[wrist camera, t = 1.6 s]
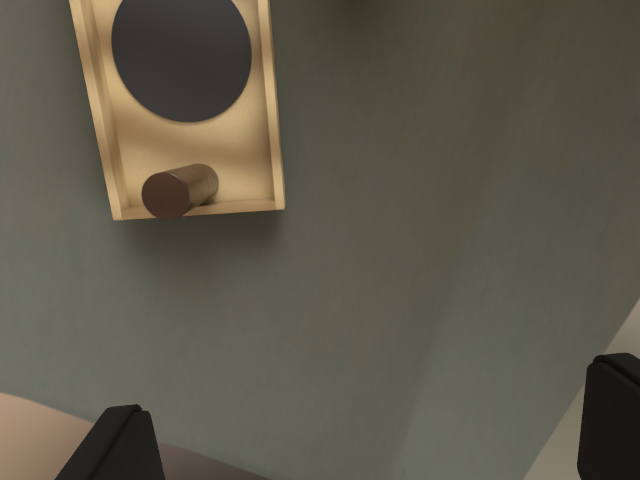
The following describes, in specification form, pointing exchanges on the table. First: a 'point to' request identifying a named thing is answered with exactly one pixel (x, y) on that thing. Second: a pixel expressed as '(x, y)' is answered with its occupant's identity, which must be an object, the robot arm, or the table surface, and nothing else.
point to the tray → (183, 105)
